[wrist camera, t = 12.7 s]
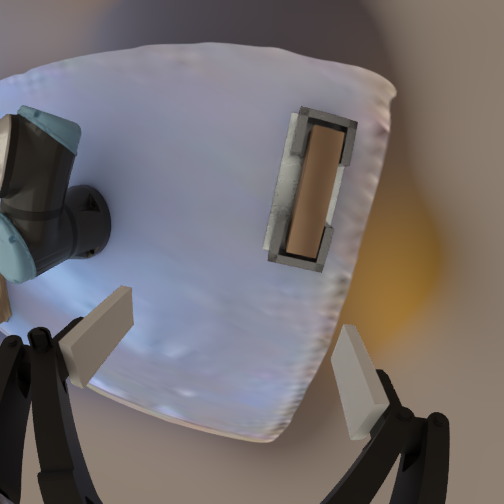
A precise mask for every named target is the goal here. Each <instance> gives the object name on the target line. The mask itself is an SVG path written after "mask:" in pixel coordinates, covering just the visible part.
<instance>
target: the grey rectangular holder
mask: <svg viewBox="0 0 504 504" xmlns="http://www.w3.org/2000/svg"><path fill="white" fill-rule="evenodd" d="M357 124H358V122H356V121H353V120H350V119H347V118H343V117H340V116H337V115H333V114H329V113H326V112H322V111H318V110H314V109H310V108H306V107H302V106H301V108H300V111H299V114H297V113H292V114H291V119H290V124H289V128H288V133H287V138H286V143H285V147H284V152H283V157H282V162H281V166H280V171H279V176H278V180H277V185H276V190H275V194H274V199H273V203H272V208H271V213H270V217H269V222H268V226H267V231H266V235H265V240H264V245H263V249H264V250H269V253H268V261H271V262H275V263H280V264H284V265H289V266H293V267H298V268H303V269H307V270H312V271H316V272H321V273H322V270H323V267H324V264H325V260H326V257H327V253H328V250H329V246H330V243H331V239H332V235H333V232H334V229H333V228H332V227H331V226H330V225H331V221H332V217H333V213H334V209H335V205H336V201H337V197H338V193H339V188H340V184H341V180H342V175H343V171H344V166H349V165H350V160H351V155H352V150H353V145H354V140H355V135H356V129H357ZM314 125H317V126H321V127H325V128H329V129H332V130H336V131H339V132H343V133H345V134H344V139H343V144H342V149H341V154H340V159H339V164H338V169H337V174H336V178H335V183H334V187H333V191H332V196H331V200H330V204H329V209H328V213H327V217H326V221H325V225H324V229H323V233H322V236H321V240H320V244H319V248H318V252H317V255H316V258H312V257H307V256H302V255H298V254H293V253H289V252H287V251H286V243H285V240H286V236H287V232H288V227H289V223H290V219H291V214H292V210H293V205H294V201H295V196H296V192H297V187H298V183H299V178H300V173H301V169H302V164H303V159H304V154H305V150H306V145H307V140H308V135H309V131H310V130H311V129H312V127H313V126H314Z"/></svg>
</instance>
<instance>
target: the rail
mask: <svg viewBox="0 0 504 504" xmlns="http://www.w3.org/2000/svg"><path fill="white" fill-rule="evenodd" d="M344 134H345V133H343V132H339V131H336V130H332V129H329V128H325V127H321V126H317V125H314V126H313V127H312V129H311V130H310V131H309V135H308V140H307V145H306V150H305V154H304V159H303V164H302V169H301V173H300V178H299V183H298V187H297V192H296V196H295V201H294V205H293V210H292V214H291V219H290V223H289V227H288V232H287V236H286V240H285V243H286V251H287V252H289V253H293V254H298V255H302V256H307V257H312V258H316V255H317V252H318V248H319V244H320V240H321V236H322V233H323V229H324V225H325V221H326V217H327V213H328V209H329V204H330V200H331V196H332V191H333V187H334V183H335V178H336V174H337V169H338V164H339V159H340V154H341V149H342V144H343V139H344Z"/></svg>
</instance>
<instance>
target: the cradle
mask: <svg viewBox="0 0 504 504" xmlns="http://www.w3.org/2000/svg"><path fill="white" fill-rule="evenodd" d="M11 316H12V312H11V308H10V304H9V299H8V294H7V289H6V283H5V277H4V276H3V275H2V274H1V273H0V324H1V323H2V322H4V321H5V320H6V319H8V318H9V317H11Z"/></svg>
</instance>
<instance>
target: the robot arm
mask: <svg viewBox="0 0 504 504" xmlns="http://www.w3.org/2000/svg"><path fill="white" fill-rule="evenodd" d="M80 137H81V129H80V127H79V125H78V124H77V123H75V122H72V121H69V120H66V119H64V118H61V117H58V116H55V115H52V114H49V113H46V112H43V111H40V110H37V109H34V108H31V107H28V106H25V105H22V106H21V107H20V109H19V110H18V112H17V115H13V114H6V115H5V116H4V117H2V118H1V119H0V198H1V203H0V273H1V274H2V275H3V276H4V277H5V278H6V279H7V280H8V281H10V282H11V283H14V284H21V283H23V282H25V281H28V280H30V279H31V280H32V279H34V278H35V277H37V276H39V275H40V274H42V273H44V272H45V271H47V270H49V269H51V268H53V267H54V266H56V265H58V264H60V263H62V262H63V261H65V260H67V259H87V258H91V257H93V256H95V255H96V254H98V253H100V252H101V251H102V250H103V249H104V247H105V246H106V244H107V242H108V239H109V236H110V230H111V220H110V214H109V210H108V207H107V204H106V202H105V200H104V199H103V197H102V196H101V194H100V193H99V192H98V191H97V190H95V189H94V188H92V187H90V186H87V185H77V186H72V187H70V188H68V184H69V179H70V175H71V171H72V167H73V164H74V160H75V156H77V148H78V144H79V140H80ZM67 188H68V189H67ZM133 325H134V321H133V306H132V288H130V287H126V286H122V285H121V286H120V287H119V288H118V289H117V290H115V291H114V292H113V293H112V294H111V295H110V296H108V297H107V298H106V299H105V300H104V301H103V302H102V303H100V304H99V305H98V306H97V307H96V308H95V309H94V310H93V311H91V312H90V313H89V314H88V315H87V316H86V317H85V318H84V317H79V318H76V319H74V320H73V321H71V322H70V323H69V324H68V326H66V327H65V328H64V330H63V329H62V330H61V331H60V332H59V333H58V334H57V335H56V336H55V337H54V338H53V339H52V337H51V333H50V331H49V330H48V329H47V328H45V327H37V328H34V329H32V330H30V331H29V332H28V335H27V336H28V340H29V343H30V346H29V345H24V344H23V342H22V339H21V337H19V336H17V335H10V336H8V337H6V338H5V339H4V340H3V342H2V344H1V346H0V504H20V497H21V474H22V473H21V472H22V458H23V449H24V439H25V433H26V426H27V420H28V415H29V410H30V404H31V400H32V411H33V412H32V413H33V423H34V432H35V440H36V446H37V452H38V458H39V463H40V468H41V472H39V473H38V475H37V477H38V483H39V487H40V490H41V494H42V498H43V501H44V504H103V503H102V501H101V500H100V498H99V497H98V495H97V493H96V490H95V488H94V485H93V483H92V480H91V477H90V475H89V472H88V469H87V466H86V463H85V460H84V457H83V453H82V450H81V447H80V443H79V440H78V436H77V432H76V428H75V424H74V420H73V415H72V410H71V405H70V400H69V394H68V388H67V383H66V379H67V377H68V376H69V377H70V380H71V382H72V384H74V385H76V386H78V387H80V388H82V389H83V388H84V387H85V386H86V385H87V383H88V382H89V381H90V379H91V378H92V377H93V375H94V374H95V373H96V372H97V370H98V369H99V368H100V366H101V365H102V364H103V362H104V361H105V360H106V359H107V357H108V356H109V355H110V354H111V352H112V351H113V350H114V348H115V347H116V346H117V345H118V343H119V342H120V341H121V340H122V338H123V337H124V336H125V335H126V333H127V332H128V331H129V330H130V329H131V327H132V326H133ZM331 362H332V366H333V369H334V373H335V378H336V381H337V385H338V389H339V393H340V397H341V401H342V406H343V410H344V414H345V418H346V422H347V427H348V431H349V436H350V440H361V439H365V438H366V436H367V435H368V434H369V433H370V435H371V440H370V441H369V442H368V443H367V445H366V446H365V447H364V448H363V451H362V452H361V454H360V455H359V457H358V458H357V459H356V461H355V462H354V463H353V465H352V466H351V468H350V469H349V470H348V471H347V473H346V474H345V475H344V476H343V478H342V479H341V480H340V481H339V483H338V484H337V485H336V486H335V487H334V489H332V491H331V492H330V493H329V494H328V495H327V496H326V498H325V499H324V500H323V501H322V502H321V503H320V504H370V502H371V501H372V499H373V498H374V496H375V494H376V493H377V491H378V490H379V488H380V487H381V485H382V483H383V482H384V480H385V479H386V477H387V475H388V473H389V472H390V470H391V468H392V466H393V464H394V463H395V461H396V459H397V457H398V455H399V453H401V458H400V463H399V468H398V472H397V476H396V481H395V485H394V488H393V492H392V496H391V499H390V503H389V504H445V500H446V493H447V484H448V472H449V448H450V447H449V446H450V442H449V441H450V435H449V434H450V433H449V421H448V419H447V417H446V416H445V415H443V414H442V413H439V412H434V413H432V414H430V415H429V416H428V418H427V419H426V418H420V417H415V416H414V413H413V412H412V411H411V410H410V409H408V408H406V407H403V406H402V405H401V403H400V401H399V398H398V396H397V394H396V392H395V389H393V385H392V384H391V381H390V379H389V376H388V375H387V374H386V373H385V372H384V371H383V370H380V369H375V368H374V366H373V363H372V361H371V359H370V357H369V354H368V352H367V350H366V348H365V346H364V344H363V342H362V339H361V337H360V335H359V333H358V331H357V329H356V327H355V325H346V324H344V325H343V328H342V330H341V333H340V336H339V338H338V341H337V344H336V347H335V349H334V352H333V354H332V357H331Z"/></svg>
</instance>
